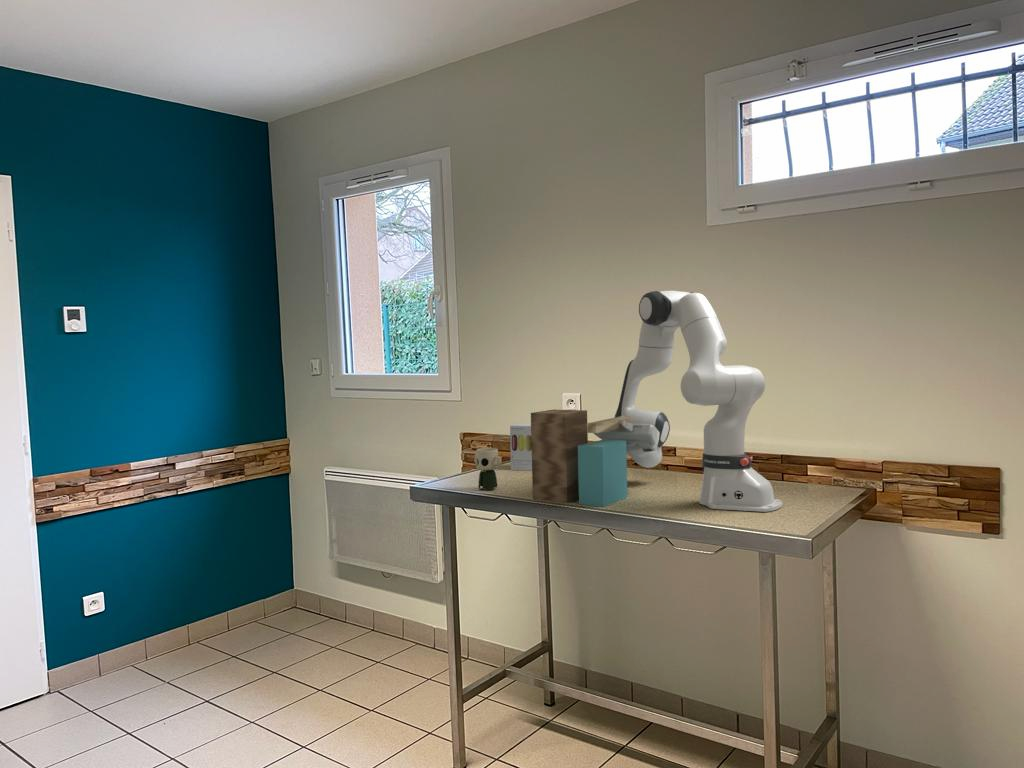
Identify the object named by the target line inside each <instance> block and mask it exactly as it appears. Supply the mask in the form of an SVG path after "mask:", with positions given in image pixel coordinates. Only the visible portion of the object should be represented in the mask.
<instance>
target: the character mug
mask: <svg viewBox="0 0 1024 768" xmlns="http://www.w3.org/2000/svg"><path fill="white" fill-rule="evenodd" d="M474 463H475V466H476V469H477V470H479V476H478V484H477V485H478V489H482V490H491V489H492V490H493V489H495V488H497V487H498V481H497V474H496V471H495V470H497V469H498V468H499V467H500V465H501V457H500V456H499V450H498V448H494V447H483V448H482V447H481V448H478V449H476V450H475V454H474ZM481 487H482V488H481Z"/></svg>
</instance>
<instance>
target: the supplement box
mask: <svg viewBox="0 0 1024 768" xmlns="http://www.w3.org/2000/svg"><path fill="white" fill-rule="evenodd" d="M509 433H510V434H509V440H510V441H509V443H510V445H509V446H510V447H509V448H510V453H509V454H510V455H509V456H510V471H532V446H531V422H530V423H527V422H526V423H522V422H521V423H520V422H519V423H517V422H515V423H513V424H510V426H509Z"/></svg>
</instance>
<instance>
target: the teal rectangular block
mask: <svg viewBox="0 0 1024 768" xmlns="http://www.w3.org/2000/svg"><path fill="white" fill-rule="evenodd" d="M627 456H628V454H627V450H626V441H617V440H602V439H600V440H595V441H591V442H588V443H587V444H582V445H578V478H579V499H578V504H579V505H583V506H584V505H585V506H592V507H593V506H595V507H602V508H604V507H606V506H609V505H612V504H614V502H615V503H616V502H620V501H621V500H625V499H628V463H627V461H628V460H627V459H628V458H627ZM624 498H625V499H624ZM619 500H620V501H619Z"/></svg>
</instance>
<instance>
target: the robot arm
mask: <svg viewBox="0 0 1024 768" xmlns="http://www.w3.org/2000/svg"><path fill="white" fill-rule="evenodd" d="M638 315H639V317H640V319H641V321H642V323H641V327H640V332H639V339H638V350H637V352H636V355H635V357H634V359H632V360H630V361H629V363H628V365H627V367H626V371H625V375H624V379H623V384H622V388H621V393H620V395H619V396H620V397H619V403H618V405H617V409H616V412H615V415H614V417H613V418H616V417H621V416H631V423H628V422H626V421H625V420H619V426H620V427H622V428H617V429H613V430H609V431H604V432H600V433H592V434H594V435H595V436H596V437H597V438H599V439H600V440H617V441H626V450H627V456H630V458H631V459H632V460H633V461H634V462H635V463H636V464H638V465H639V466H641V467H644V468H648V469H650V468H654V467H656V466H657V465H659V464H660V463H661V461H662V459H663V452H662V447H663V445H664V444H665V443H666V442H667V440H668V437H669V436H670V430H671V425H670V421H669V418H668V416H667V415H666V414H665V413H664V412H662V411H656V410H650V409H649V410H648V409H643V408H642V409H641V408H637V407H636V405H635V404H636V400H637V395H638V391H639V386H640V383H641V381H642V380H644V379H645V378H647V377H650V376H653V375H657V374H660V373H662V372H664V371H665V370H667V369H668V368H669V367H670V365H671V364H672V361H673V357H674V345H675V332H676V330H677V329H678V328H680V332H681V333H682V336H683V339H684V342H685V345H686V348H687V352H688V355H689V366H688V369H687V371H686V372H684V374H683V375H682V378H681V381H680V393H681V395H682V397H683V399H685V401H686V402H687V403H689V404H691V405H699V406H703V407H707V406H710V407H711V406H718V407H717V409H716V412H715V414H714V416H712V418H711V419H709V420H708V421H706V423H705V425H704V427H703V453H702V458H701V467H702V472H703V476H702V477H703V479H702V486H701V490H700V491H701V492H700V496H699V499H698V504H700V505H702V506H706V507H707V508H709V509H712V510H727V511H729V510H730V511H743V512H762V513H763V512H764V513H766V512H773V511H776V510H778V509H780V508H782V507H783V501H782V500H780V499H778V498H776V499H775V495H774V489H773V485H772V483H771V482H770V481H769V480H768V479H766V478H765V477H764V476H763V475H762V474H760V473H758V471H756V470H755V469H754V468H753V467H752V461H753V456H749V455H748V454H746V453H745V433H746V432H745V428H746V424H747V419H748V417H749V414H750V412H751V409H752V408H753V407H754V405H755V404H756V402H757V401H758V400H759V399H760V398H762V396H763V395H764V392H765V388H766V380H765V377H764V374H763V373H762V371H761V370H760V369H758V368H756V367H754V366H749V365H743V364H738V365H737V364H735V365H723V364H722V363H721V362H720V357H721V356H722V354H724V352H725V351H726V349H727V346H728V341H727V338H726V336H725V333H724V331H723V328H722V325H721V323H720V320H719V318H718V316H717V313H716V311H715V309H714V308H713V306H712V305H711V303H710V302H709V300H708V298H707V297H706V296H705V295H704V294H702V293H699V292H694V291H679V290H662V291H660V290H659V291H658V290H653V291H650V292H647V293H645V294H643V296H642V297H641V299H640V301H639V304H638Z"/></svg>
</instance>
